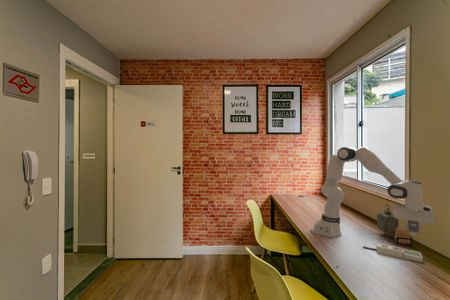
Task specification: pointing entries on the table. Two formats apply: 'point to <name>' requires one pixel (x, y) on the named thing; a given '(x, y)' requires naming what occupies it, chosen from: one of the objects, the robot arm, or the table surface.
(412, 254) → the parts tray
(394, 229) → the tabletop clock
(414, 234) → the block
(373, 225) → the table surface
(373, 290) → the table surface
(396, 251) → the power strip
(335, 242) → the table surface
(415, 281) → the table surface
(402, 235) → the ammunition clip
